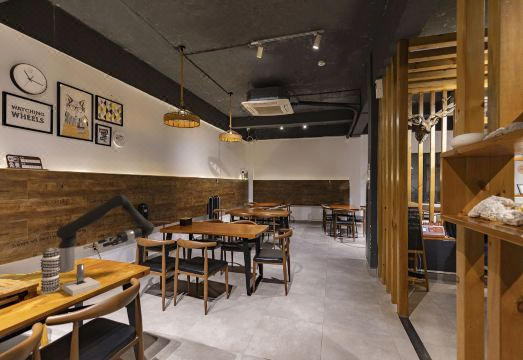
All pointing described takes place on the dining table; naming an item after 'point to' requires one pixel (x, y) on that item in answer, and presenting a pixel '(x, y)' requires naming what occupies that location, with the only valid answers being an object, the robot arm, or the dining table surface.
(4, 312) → the dining table surface
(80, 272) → the metal pin
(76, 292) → the hole plate
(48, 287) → the tiered tower model
